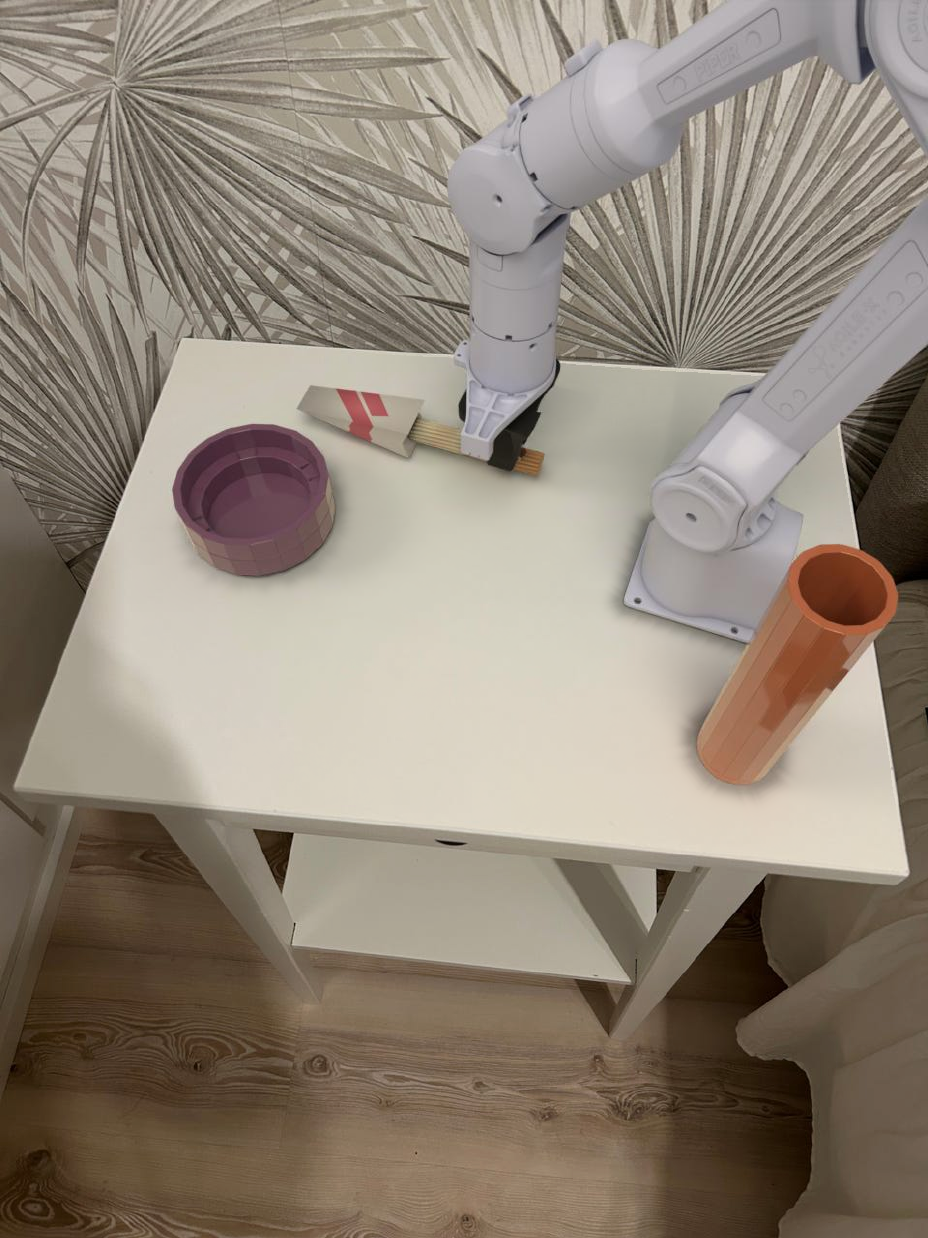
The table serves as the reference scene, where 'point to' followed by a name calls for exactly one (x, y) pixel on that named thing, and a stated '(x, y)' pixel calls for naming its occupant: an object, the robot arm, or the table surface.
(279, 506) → the bowl
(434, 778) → the table surface
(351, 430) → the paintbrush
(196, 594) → the table surface
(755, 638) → the vase
